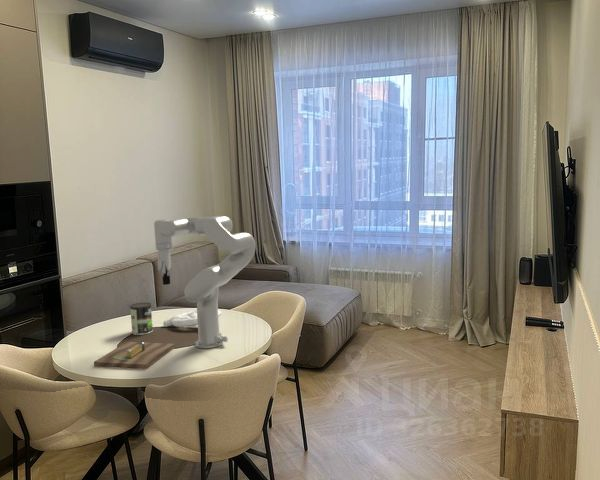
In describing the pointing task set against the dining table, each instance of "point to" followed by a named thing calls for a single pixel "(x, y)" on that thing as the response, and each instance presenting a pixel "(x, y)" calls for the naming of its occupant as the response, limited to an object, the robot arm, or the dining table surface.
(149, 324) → the coffee can
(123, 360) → the tuner board
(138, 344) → the peg
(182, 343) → the dining table surface
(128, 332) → the dining table surface
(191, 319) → the pretzel
